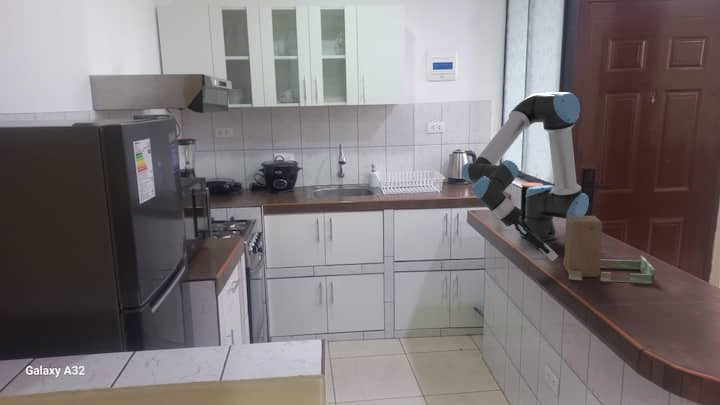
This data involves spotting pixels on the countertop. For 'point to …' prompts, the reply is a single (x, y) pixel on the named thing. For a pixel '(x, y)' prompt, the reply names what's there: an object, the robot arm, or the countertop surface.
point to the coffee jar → (523, 195)
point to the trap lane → (622, 264)
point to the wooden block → (583, 245)
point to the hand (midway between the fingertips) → (554, 258)
